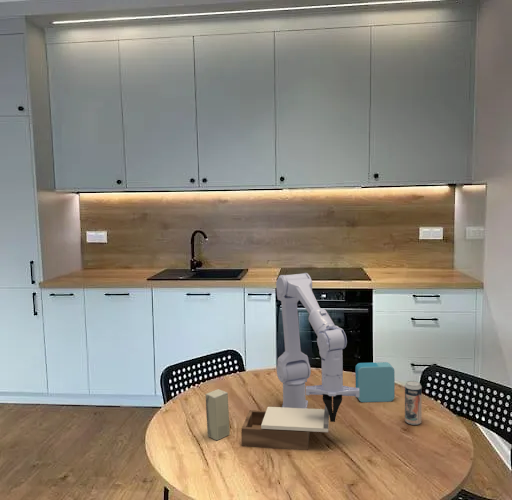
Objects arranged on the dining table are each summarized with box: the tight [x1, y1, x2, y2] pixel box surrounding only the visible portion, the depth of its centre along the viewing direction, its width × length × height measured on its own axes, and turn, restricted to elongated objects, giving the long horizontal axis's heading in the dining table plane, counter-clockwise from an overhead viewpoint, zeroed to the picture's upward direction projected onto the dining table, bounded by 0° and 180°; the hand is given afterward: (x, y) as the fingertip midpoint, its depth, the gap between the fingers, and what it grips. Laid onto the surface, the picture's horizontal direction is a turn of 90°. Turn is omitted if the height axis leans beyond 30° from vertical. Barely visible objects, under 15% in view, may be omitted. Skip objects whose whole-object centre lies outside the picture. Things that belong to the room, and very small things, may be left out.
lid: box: [261, 404, 330, 433], centre depth 135 cm, size 12×18×2 cm, turn 80°
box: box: [205, 388, 231, 441], centre depth 138 cm, size 5×4×13 cm
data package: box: [354, 361, 396, 403], centre depth 161 cm, size 12×4×12 cm, turn 90°
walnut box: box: [241, 409, 311, 451], centre depth 136 cm, size 12×18×5 cm, turn 80°
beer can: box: [404, 380, 423, 426], centre depth 143 cm, size 5×5×12 cm
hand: (332, 420), depth 133 cm, fingers closed
